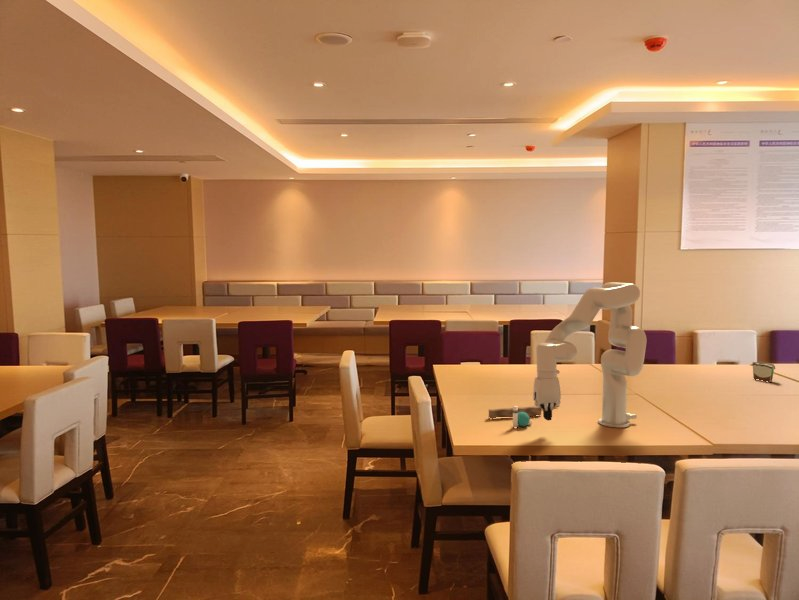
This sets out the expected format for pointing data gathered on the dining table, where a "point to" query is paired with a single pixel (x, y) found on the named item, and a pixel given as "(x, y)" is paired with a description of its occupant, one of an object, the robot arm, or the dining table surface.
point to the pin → (515, 416)
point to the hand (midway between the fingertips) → (547, 419)
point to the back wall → (509, 411)
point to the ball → (523, 419)
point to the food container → (763, 371)
